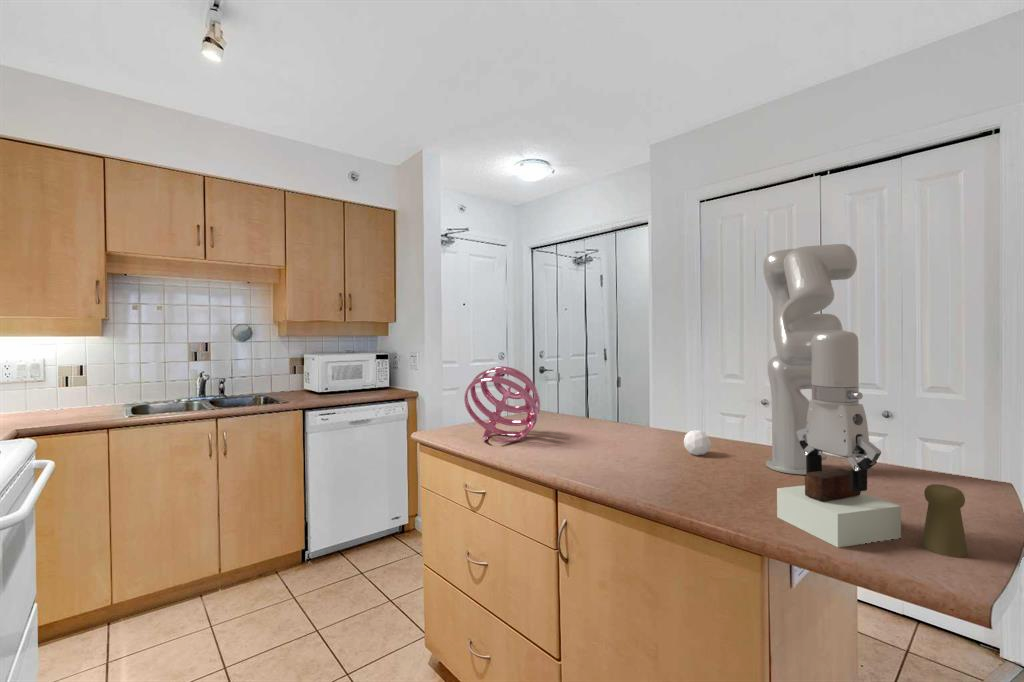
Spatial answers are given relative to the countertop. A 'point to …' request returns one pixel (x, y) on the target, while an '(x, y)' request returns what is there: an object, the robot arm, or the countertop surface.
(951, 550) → the cork
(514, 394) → the spiral basket
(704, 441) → the ball
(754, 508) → the countertop surface
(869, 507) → the sage block
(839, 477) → the brick
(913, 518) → the countertop surface
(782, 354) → the robot arm
